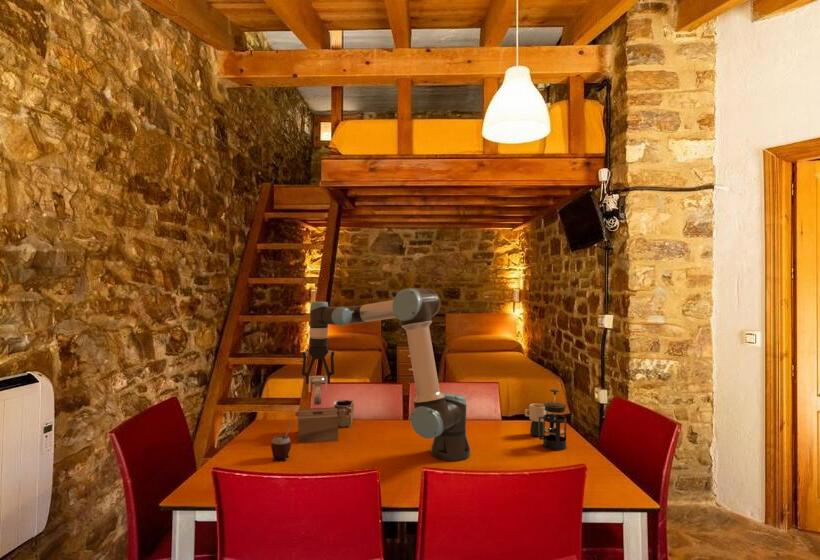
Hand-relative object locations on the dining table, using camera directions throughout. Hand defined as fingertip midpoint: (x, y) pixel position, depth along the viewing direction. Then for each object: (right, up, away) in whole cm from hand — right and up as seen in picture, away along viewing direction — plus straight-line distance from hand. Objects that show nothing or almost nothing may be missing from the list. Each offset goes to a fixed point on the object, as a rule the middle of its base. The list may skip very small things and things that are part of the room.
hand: (317, 391), depth 206 cm
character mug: (+95, -20, +4) cm, 98 cm away
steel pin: (0, -5, 0) cm, 5 cm away
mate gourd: (-8, -19, -28) cm, 35 cm away
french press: (+98, -20, -11) cm, 101 cm away
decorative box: (+7, -20, +22) cm, 30 cm away
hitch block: (0, -19, 0) cm, 19 cm away
